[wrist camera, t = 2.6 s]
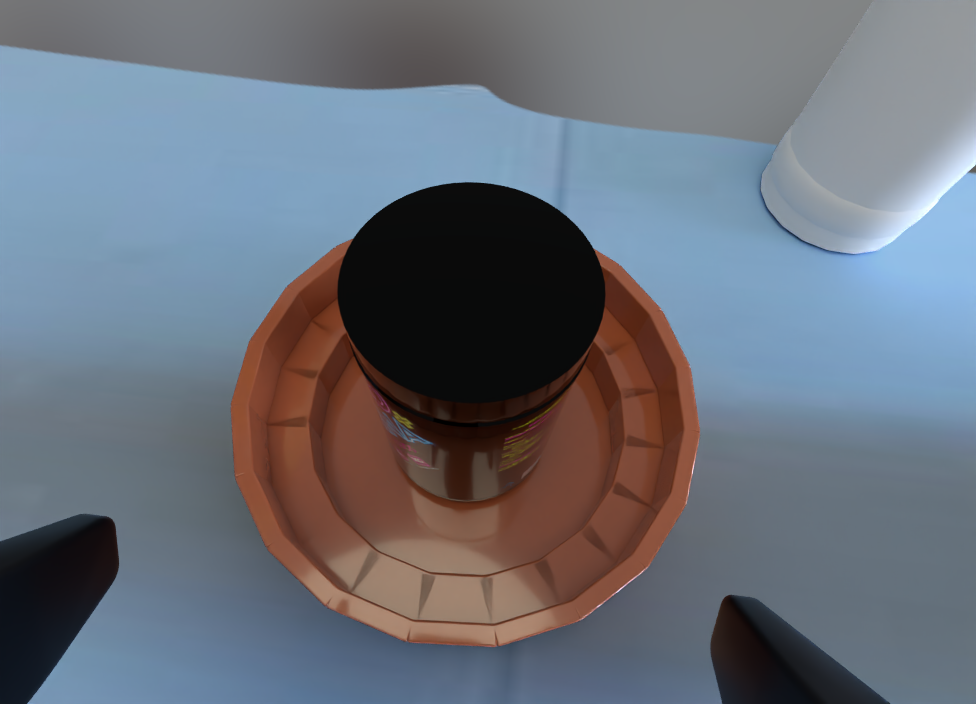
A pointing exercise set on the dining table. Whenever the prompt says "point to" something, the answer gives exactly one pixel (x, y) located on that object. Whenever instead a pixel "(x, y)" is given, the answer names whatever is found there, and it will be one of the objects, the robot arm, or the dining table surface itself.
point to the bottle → (881, 128)
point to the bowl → (449, 523)
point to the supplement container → (470, 330)
